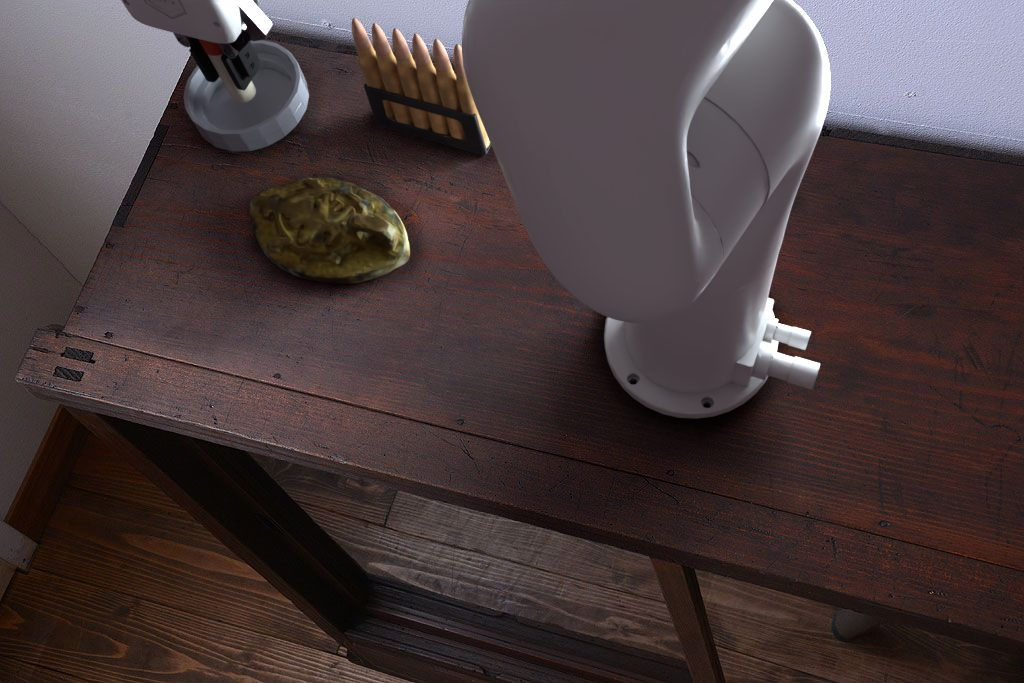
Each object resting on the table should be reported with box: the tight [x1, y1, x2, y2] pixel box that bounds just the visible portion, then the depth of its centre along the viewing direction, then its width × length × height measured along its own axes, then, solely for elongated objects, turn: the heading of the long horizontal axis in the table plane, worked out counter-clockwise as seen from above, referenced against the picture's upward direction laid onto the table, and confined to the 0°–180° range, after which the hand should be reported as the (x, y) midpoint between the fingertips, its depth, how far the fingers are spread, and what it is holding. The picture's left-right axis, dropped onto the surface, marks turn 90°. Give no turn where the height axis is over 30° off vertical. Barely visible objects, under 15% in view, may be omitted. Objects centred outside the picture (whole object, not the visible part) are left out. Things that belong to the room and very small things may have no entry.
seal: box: [248, 176, 411, 285], centre depth 78 cm, size 9×5×15 cm
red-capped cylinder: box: [198, 39, 256, 103], centre depth 82 cm, size 2×2×8 cm
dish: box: [183, 40, 310, 153], centre depth 86 cm, size 10×10×3 cm
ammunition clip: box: [351, 17, 492, 157], centre depth 78 cm, size 11×2×12 cm, turn 66°
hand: (234, 72), depth 83 cm, fingers closed on red-capped cylinder, 2 cm apart
